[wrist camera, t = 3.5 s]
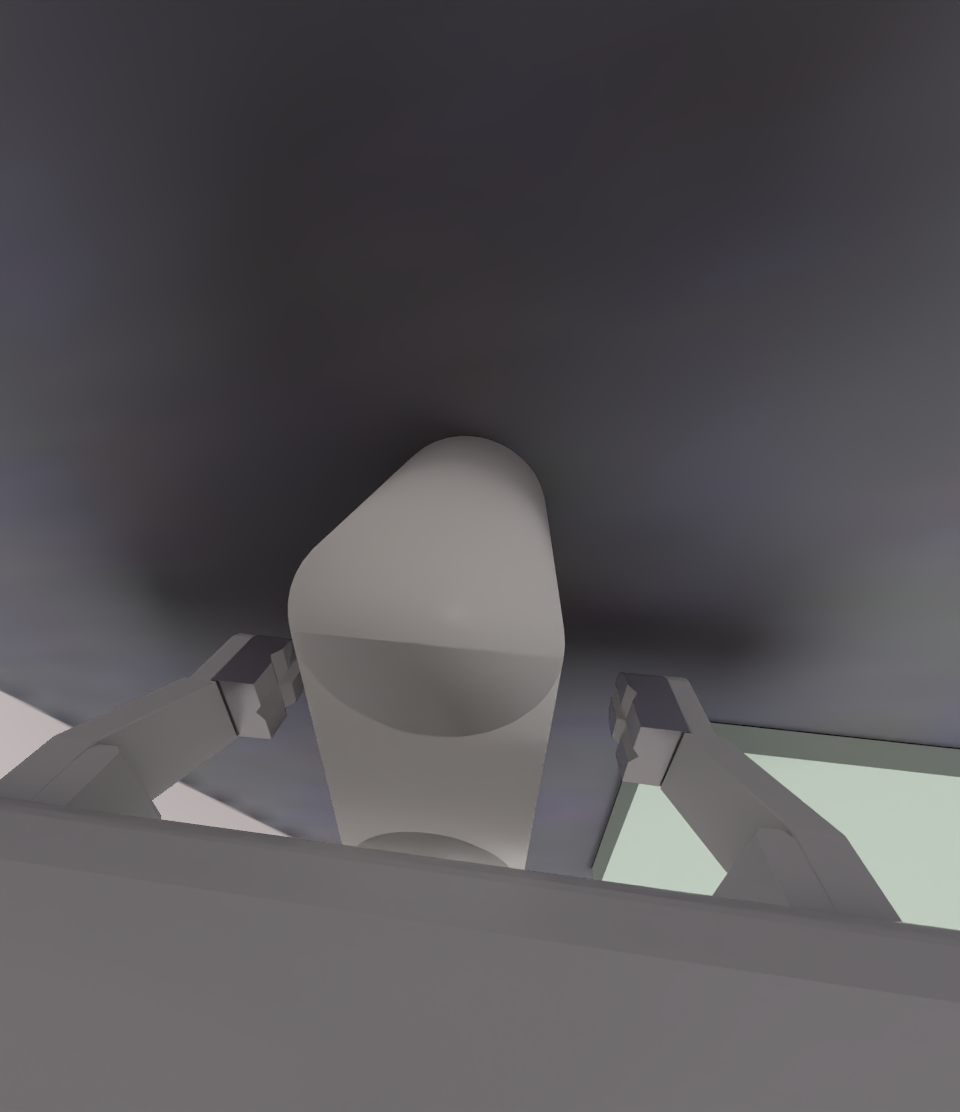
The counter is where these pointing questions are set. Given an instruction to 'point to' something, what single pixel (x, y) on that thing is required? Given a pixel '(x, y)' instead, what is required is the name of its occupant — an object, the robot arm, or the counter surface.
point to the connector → (435, 655)
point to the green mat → (836, 795)
